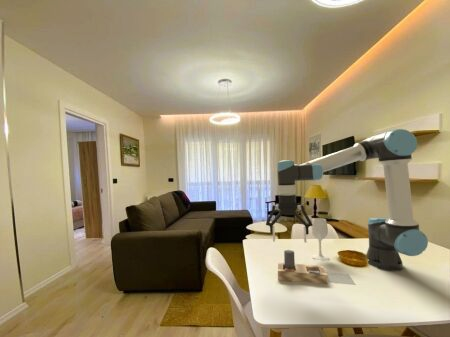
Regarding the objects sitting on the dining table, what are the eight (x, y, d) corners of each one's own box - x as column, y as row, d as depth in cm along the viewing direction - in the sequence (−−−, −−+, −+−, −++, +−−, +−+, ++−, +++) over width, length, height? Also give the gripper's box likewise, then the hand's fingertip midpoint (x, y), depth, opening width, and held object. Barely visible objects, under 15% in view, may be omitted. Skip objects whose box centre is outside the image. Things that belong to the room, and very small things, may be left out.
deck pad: (348, 274, 99) (348, 273, 99) (355, 285, 90) (355, 284, 90) (324, 272, 102) (324, 271, 102) (329, 283, 92) (329, 282, 92)
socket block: (323, 274, 100) (323, 264, 100) (327, 284, 91) (327, 273, 91) (278, 270, 105) (278, 261, 105) (278, 279, 96) (277, 269, 96)
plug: (294, 274, 100) (294, 250, 101) (295, 279, 96) (294, 253, 97) (284, 273, 102) (284, 249, 102) (284, 278, 97) (284, 253, 98)
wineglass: (311, 259, 117) (310, 220, 117) (312, 254, 125) (310, 217, 125) (329, 262, 114) (328, 221, 114) (328, 256, 122) (327, 218, 122)
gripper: (315, 193, 100) (317, 239, 100) (260, 194, 107) (262, 237, 106) (317, 194, 93) (320, 244, 93) (258, 195, 99) (261, 242, 99)
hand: (289, 241), depth 99 cm, fingers open, 13 cm apart
